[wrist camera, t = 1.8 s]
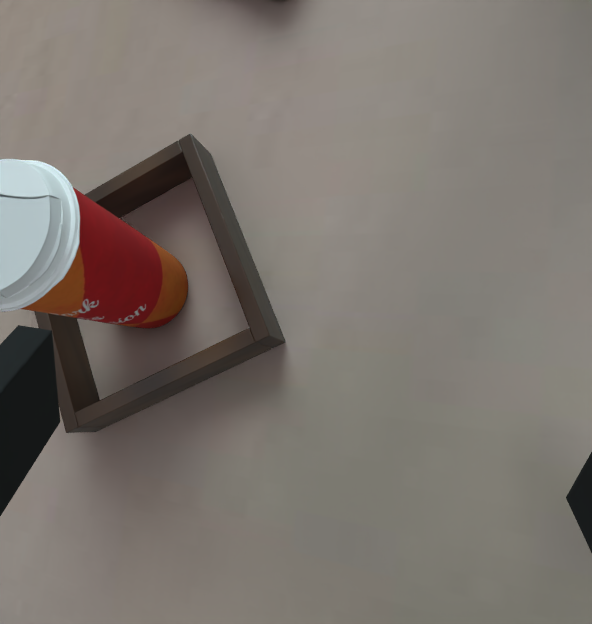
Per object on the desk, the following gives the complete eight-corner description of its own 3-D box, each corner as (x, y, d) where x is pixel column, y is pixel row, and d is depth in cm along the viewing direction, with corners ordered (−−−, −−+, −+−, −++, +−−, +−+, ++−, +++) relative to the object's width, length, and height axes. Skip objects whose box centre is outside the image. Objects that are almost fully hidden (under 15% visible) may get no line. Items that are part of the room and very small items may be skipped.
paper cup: (88, 314, 40) (-96, 264, 27) (138, 221, 40) (-21, 127, 27) (169, 364, 38) (8, 336, 25) (223, 264, 38) (90, 183, 25)
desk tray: (210, 153, 40) (190, 132, 37) (285, 342, 35) (269, 335, 33) (44, 247, 43) (14, 235, 40) (95, 432, 38) (65, 433, 36)
